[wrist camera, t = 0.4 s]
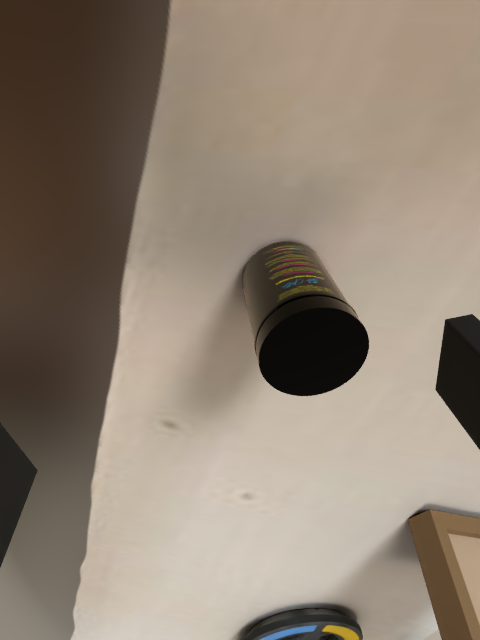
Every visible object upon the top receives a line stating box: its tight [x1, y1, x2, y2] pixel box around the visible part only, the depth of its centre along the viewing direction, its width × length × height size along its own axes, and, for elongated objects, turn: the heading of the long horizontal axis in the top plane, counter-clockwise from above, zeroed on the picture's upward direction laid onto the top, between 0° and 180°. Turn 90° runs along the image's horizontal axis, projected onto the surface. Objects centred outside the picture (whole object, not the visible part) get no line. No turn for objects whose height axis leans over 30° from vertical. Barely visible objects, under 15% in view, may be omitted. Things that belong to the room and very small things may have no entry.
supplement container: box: [242, 241, 369, 396], centre depth 28 cm, size 7×7×10 cm
